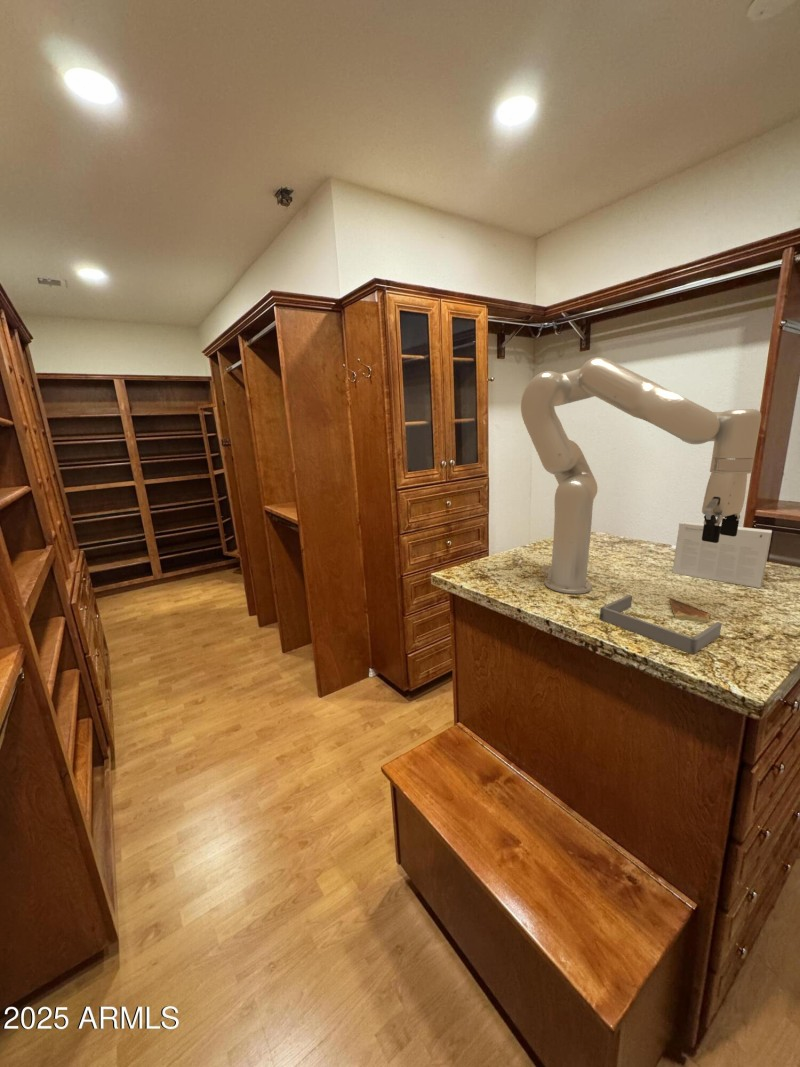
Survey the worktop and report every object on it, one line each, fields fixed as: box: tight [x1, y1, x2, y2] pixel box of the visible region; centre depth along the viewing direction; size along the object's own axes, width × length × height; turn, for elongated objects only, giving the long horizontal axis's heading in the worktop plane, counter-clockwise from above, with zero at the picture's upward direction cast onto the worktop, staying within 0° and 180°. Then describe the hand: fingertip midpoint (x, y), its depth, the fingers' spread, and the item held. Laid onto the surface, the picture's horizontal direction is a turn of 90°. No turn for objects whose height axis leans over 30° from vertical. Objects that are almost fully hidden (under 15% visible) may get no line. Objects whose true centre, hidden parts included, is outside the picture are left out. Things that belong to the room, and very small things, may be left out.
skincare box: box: [671, 520, 773, 589], centre depth 119 cm, size 21×5×16 cm, turn 47°
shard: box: [669, 597, 711, 624], centre depth 99 cm, size 11×8×2 cm
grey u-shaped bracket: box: [599, 594, 723, 655], centre depth 92 cm, size 20×13×3 cm, turn 34°
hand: (719, 538), depth 97 cm, fingers open, 9 cm apart
